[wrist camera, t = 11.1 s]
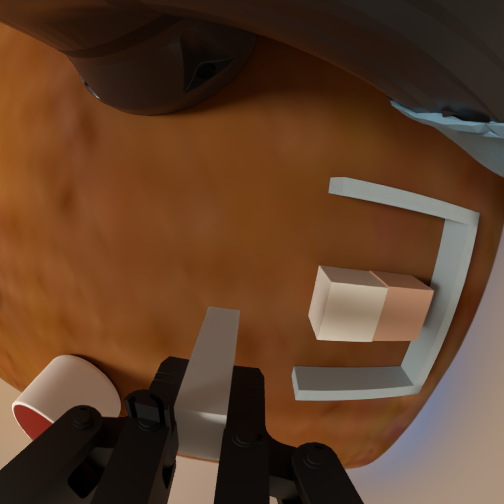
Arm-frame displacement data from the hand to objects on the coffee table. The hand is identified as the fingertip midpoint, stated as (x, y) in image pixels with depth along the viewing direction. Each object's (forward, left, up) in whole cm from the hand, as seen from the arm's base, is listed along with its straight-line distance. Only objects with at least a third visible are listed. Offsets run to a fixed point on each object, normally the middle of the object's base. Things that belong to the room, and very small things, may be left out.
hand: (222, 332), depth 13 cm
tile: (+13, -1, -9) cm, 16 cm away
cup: (-16, -17, -9) cm, 25 cm away
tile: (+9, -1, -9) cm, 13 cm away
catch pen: (+13, -1, -9) cm, 16 cm away
